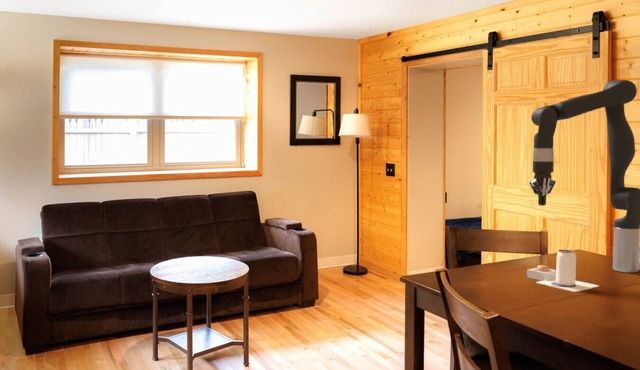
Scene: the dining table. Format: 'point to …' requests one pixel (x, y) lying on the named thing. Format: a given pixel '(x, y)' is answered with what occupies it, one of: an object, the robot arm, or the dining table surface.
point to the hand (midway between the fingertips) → (542, 205)
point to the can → (566, 268)
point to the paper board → (576, 288)
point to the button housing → (541, 274)
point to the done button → (542, 268)
